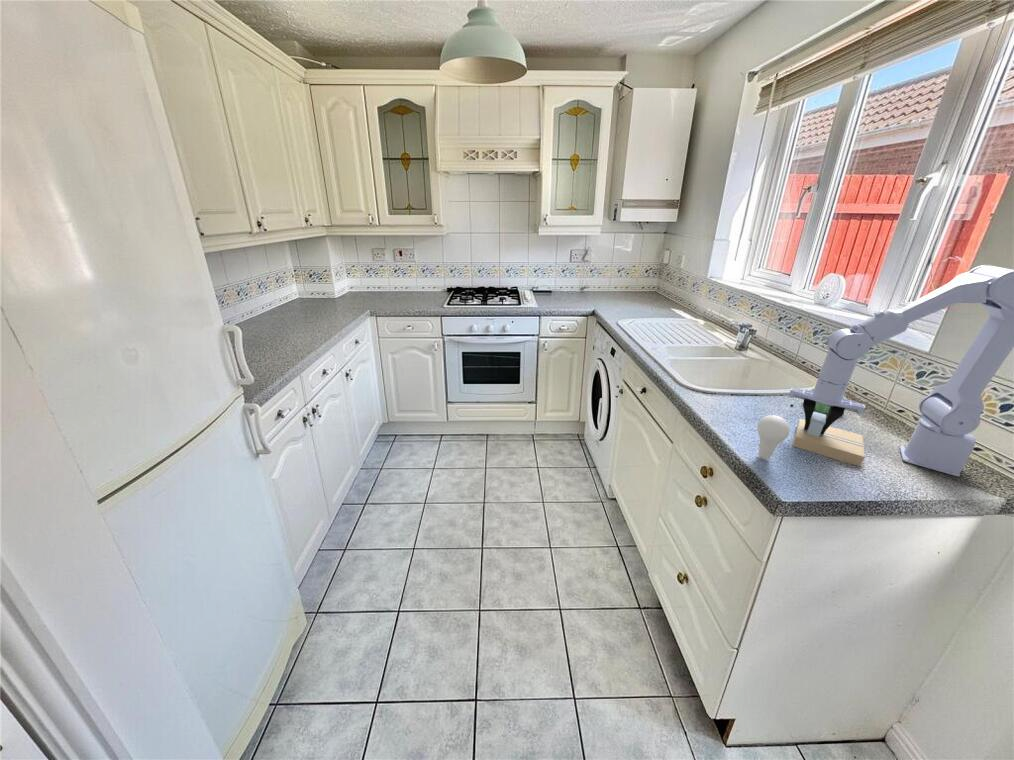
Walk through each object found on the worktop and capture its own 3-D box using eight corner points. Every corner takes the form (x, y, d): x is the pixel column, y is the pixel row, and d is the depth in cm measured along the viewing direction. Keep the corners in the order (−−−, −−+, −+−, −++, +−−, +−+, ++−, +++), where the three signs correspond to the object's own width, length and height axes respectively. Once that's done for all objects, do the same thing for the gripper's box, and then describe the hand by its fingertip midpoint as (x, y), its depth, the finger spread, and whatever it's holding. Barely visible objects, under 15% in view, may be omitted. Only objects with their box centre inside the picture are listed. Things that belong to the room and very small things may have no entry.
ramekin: (797, 404, 122) (801, 390, 120) (815, 399, 125) (820, 386, 124) (829, 417, 114) (834, 403, 113) (847, 412, 118) (853, 398, 116)
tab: (820, 429, 102) (826, 414, 101) (819, 437, 99) (825, 422, 97) (807, 425, 104) (812, 411, 102) (805, 433, 100) (811, 418, 98)
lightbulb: (768, 451, 97) (781, 410, 93) (784, 466, 92) (800, 424, 87) (742, 450, 97) (755, 410, 93) (757, 466, 91) (772, 423, 87)
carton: (858, 444, 101) (862, 435, 100) (860, 466, 93) (864, 456, 92) (796, 427, 108) (799, 418, 107) (792, 446, 100) (796, 436, 99)
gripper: (871, 383, 95) (850, 433, 100) (798, 367, 103) (781, 415, 108) (873, 393, 89) (850, 445, 95) (795, 376, 97) (778, 425, 103)
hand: (813, 430), depth 101 cm, fingers closed on tab, 3 cm apart
